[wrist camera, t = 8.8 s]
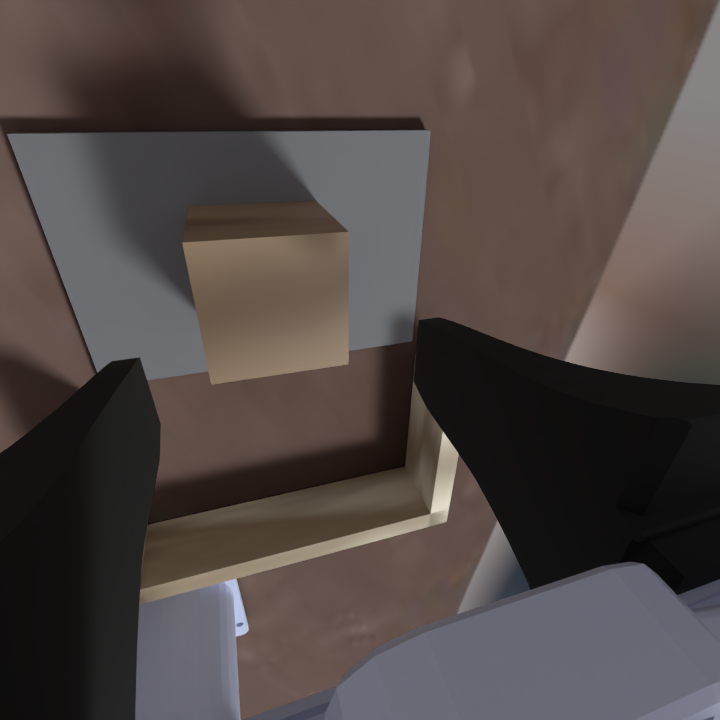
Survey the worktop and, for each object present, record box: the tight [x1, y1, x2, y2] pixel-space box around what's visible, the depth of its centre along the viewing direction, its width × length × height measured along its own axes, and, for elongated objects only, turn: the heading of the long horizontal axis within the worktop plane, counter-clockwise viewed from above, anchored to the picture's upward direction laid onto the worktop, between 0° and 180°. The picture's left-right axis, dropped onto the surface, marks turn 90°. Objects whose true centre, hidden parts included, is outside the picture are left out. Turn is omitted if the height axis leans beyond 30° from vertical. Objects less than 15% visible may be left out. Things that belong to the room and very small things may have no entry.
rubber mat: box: [7, 130, 431, 380], centre depth 18 cm, size 10×15×1 cm, turn 89°
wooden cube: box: [182, 200, 349, 385], centre depth 16 cm, size 5×5×5 cm
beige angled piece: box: [139, 355, 459, 605], centre depth 23 cm, size 10×18×4 cm, turn 89°
